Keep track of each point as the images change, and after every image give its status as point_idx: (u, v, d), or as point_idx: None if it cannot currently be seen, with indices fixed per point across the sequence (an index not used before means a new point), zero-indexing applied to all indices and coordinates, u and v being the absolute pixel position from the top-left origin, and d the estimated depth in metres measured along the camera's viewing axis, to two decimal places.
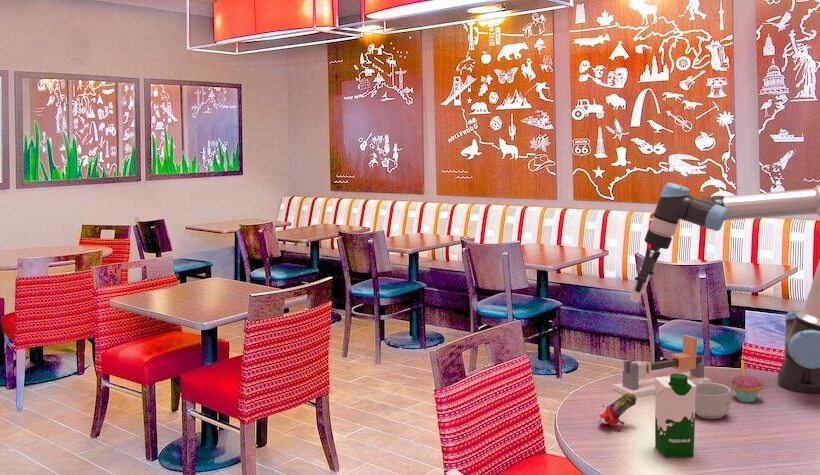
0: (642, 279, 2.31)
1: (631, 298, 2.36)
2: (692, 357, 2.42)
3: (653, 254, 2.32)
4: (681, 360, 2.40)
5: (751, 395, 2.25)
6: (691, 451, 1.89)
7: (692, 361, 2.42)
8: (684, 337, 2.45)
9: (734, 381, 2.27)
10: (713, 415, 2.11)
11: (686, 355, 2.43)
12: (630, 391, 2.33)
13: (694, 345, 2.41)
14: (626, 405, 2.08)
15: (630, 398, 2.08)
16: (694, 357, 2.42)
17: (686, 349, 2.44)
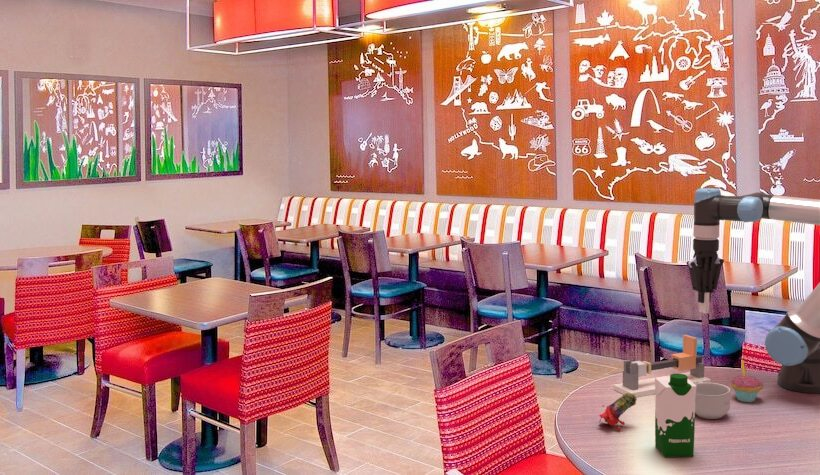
0: (696, 290, 2.42)
1: (700, 310, 2.45)
2: (692, 357, 2.42)
3: (691, 266, 2.40)
4: (681, 360, 2.40)
5: (751, 395, 2.25)
6: (691, 451, 1.89)
7: (692, 361, 2.42)
8: (684, 337, 2.45)
9: (734, 381, 2.27)
10: (713, 415, 2.11)
11: (686, 355, 2.43)
12: (630, 391, 2.33)
13: (694, 345, 2.41)
14: (626, 405, 2.08)
15: (630, 398, 2.08)
16: (694, 357, 2.42)
17: (686, 349, 2.44)
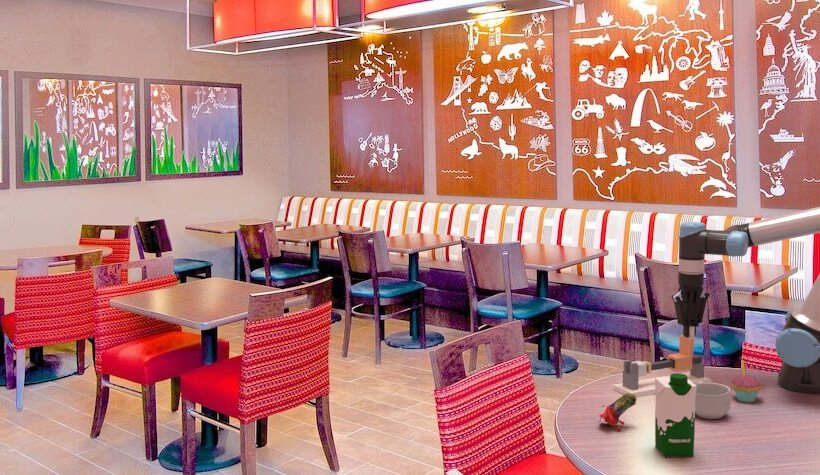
0: (681, 324, 2.41)
1: None
2: (688, 358, 2.41)
3: (676, 300, 2.39)
4: (677, 361, 2.40)
5: (751, 395, 2.25)
6: (691, 451, 1.89)
7: (688, 362, 2.42)
8: (680, 338, 2.44)
9: (734, 381, 2.27)
10: (713, 415, 2.11)
11: (682, 356, 2.42)
12: (630, 391, 2.33)
13: (690, 346, 2.41)
14: (626, 405, 2.08)
15: (630, 398, 2.08)
16: (690, 358, 2.42)
17: (682, 350, 2.44)
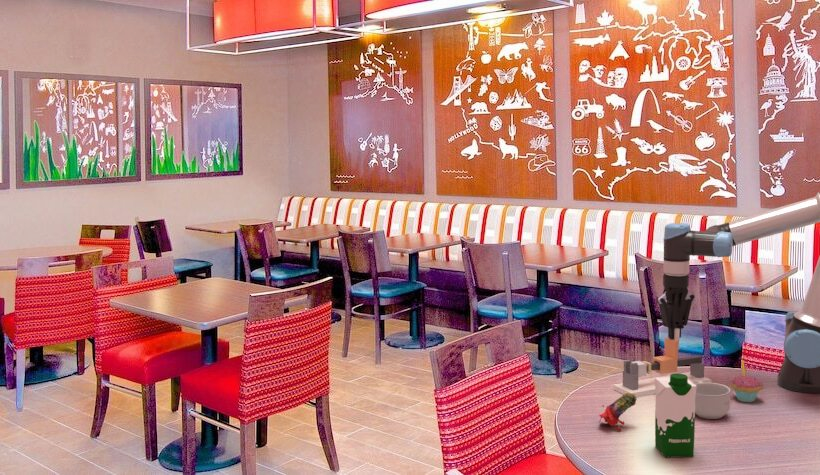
0: (666, 326, 2.39)
1: None
2: (673, 360, 2.39)
3: (660, 302, 2.37)
4: (662, 363, 2.38)
5: (751, 395, 2.25)
6: (691, 451, 1.89)
7: (673, 364, 2.40)
8: (666, 340, 2.42)
9: (734, 381, 2.27)
10: (713, 415, 2.11)
11: (667, 358, 2.40)
12: (630, 391, 2.33)
13: (675, 348, 2.39)
14: (626, 405, 2.08)
15: (630, 398, 2.08)
16: (675, 360, 2.40)
17: (667, 352, 2.42)
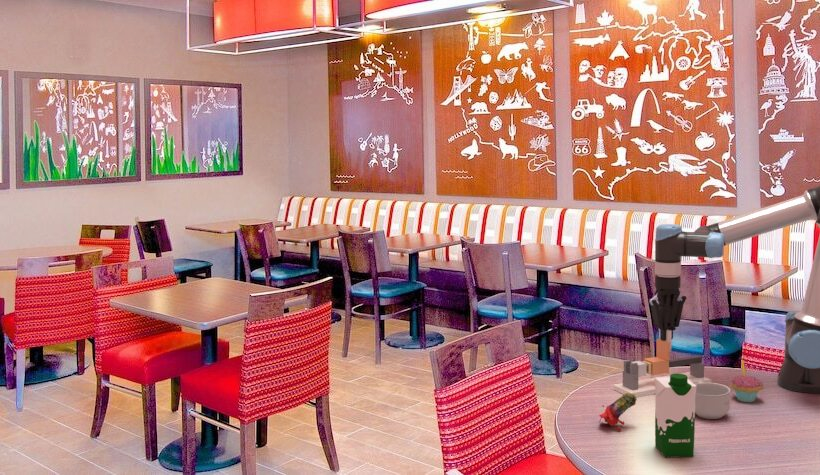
0: (658, 327, 2.38)
1: None
2: (665, 361, 2.38)
3: (652, 303, 2.36)
4: (654, 364, 2.37)
5: (751, 395, 2.25)
6: (691, 451, 1.89)
7: (665, 366, 2.38)
8: (657, 341, 2.41)
9: (734, 381, 2.27)
10: (713, 415, 2.11)
11: (659, 359, 2.39)
12: (630, 391, 2.33)
13: (667, 350, 2.38)
14: (626, 405, 2.08)
15: (630, 398, 2.08)
16: (667, 361, 2.38)
17: (659, 353, 2.41)
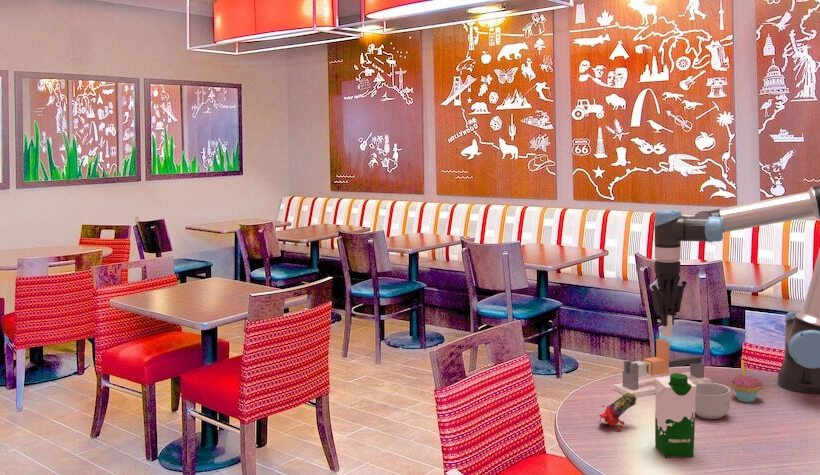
0: (658, 313, 2.37)
1: (663, 333, 2.40)
2: (665, 361, 2.38)
3: (652, 289, 2.35)
4: (654, 364, 2.37)
5: (751, 395, 2.25)
6: (691, 451, 1.89)
7: (665, 366, 2.38)
8: (657, 341, 2.41)
9: (734, 381, 2.27)
10: (713, 415, 2.11)
11: (659, 359, 2.39)
12: (630, 391, 2.33)
13: (667, 350, 2.38)
14: (626, 405, 2.08)
15: (630, 398, 2.08)
16: (667, 361, 2.38)
17: (659, 353, 2.41)
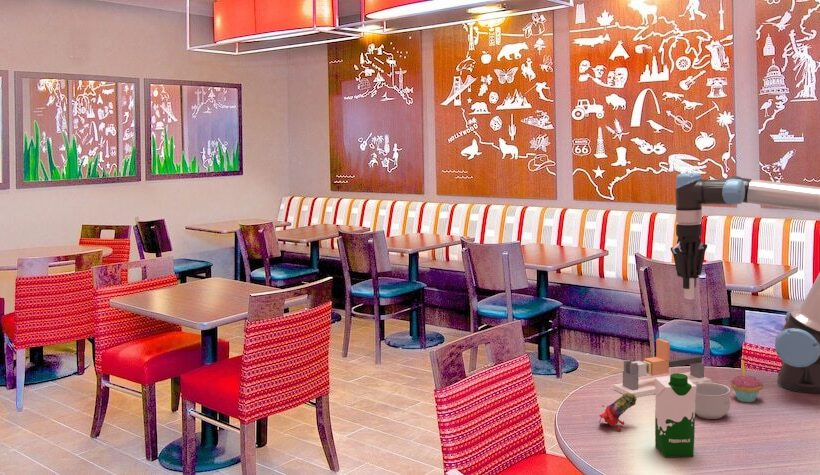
0: (681, 276, 2.40)
1: (685, 296, 2.43)
2: (665, 361, 2.38)
3: (675, 251, 2.38)
4: (654, 364, 2.37)
5: (751, 395, 2.25)
6: (691, 451, 1.89)
7: (665, 366, 2.38)
8: (657, 341, 2.41)
9: (734, 381, 2.27)
10: (713, 415, 2.11)
11: (659, 359, 2.39)
12: (630, 391, 2.33)
13: (667, 350, 2.38)
14: (626, 405, 2.08)
15: (630, 398, 2.08)
16: (667, 361, 2.38)
17: (659, 353, 2.41)
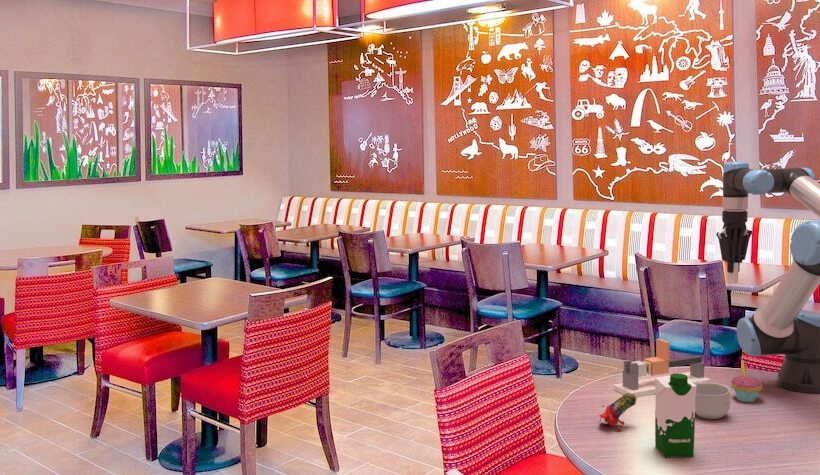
0: (725, 260, 2.50)
1: (729, 280, 2.53)
2: (665, 361, 2.38)
3: (721, 236, 2.48)
4: (654, 364, 2.37)
5: (751, 395, 2.25)
6: (691, 451, 1.89)
7: (665, 366, 2.38)
8: (657, 341, 2.41)
9: (734, 381, 2.27)
10: (713, 415, 2.11)
11: (659, 359, 2.39)
12: (630, 391, 2.33)
13: (667, 350, 2.38)
14: (626, 405, 2.08)
15: (630, 398, 2.08)
16: (667, 361, 2.38)
17: (659, 353, 2.41)
